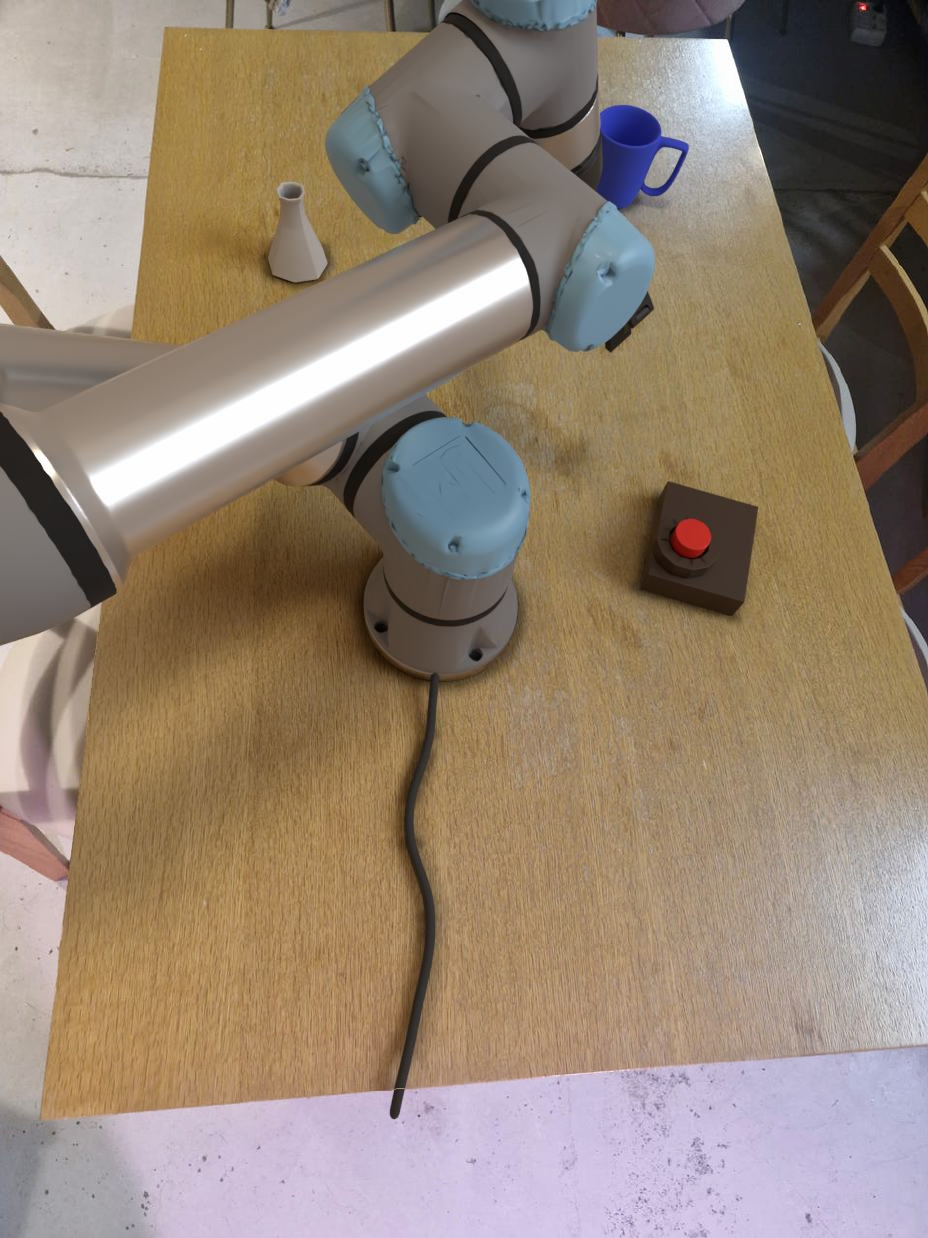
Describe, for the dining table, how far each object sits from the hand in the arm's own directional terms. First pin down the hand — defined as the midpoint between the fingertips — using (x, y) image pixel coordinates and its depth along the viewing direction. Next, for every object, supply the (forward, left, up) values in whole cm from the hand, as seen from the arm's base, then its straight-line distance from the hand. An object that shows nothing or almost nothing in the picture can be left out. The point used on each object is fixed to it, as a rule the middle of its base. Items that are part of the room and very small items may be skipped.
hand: (570, 298), depth 84 cm
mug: (+38, -2, -16) cm, 41 cm away
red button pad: (-14, -20, -16) cm, 29 cm away
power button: (-16, -18, -11) cm, 27 cm away
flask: (+11, +34, -16) cm, 39 cm away
